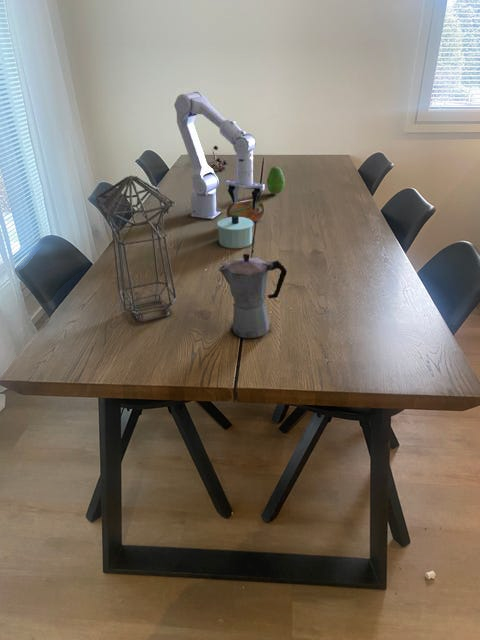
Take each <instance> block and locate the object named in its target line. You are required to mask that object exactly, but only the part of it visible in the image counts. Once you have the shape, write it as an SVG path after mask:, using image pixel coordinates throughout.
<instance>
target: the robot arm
mask: <svg viewBox="0 0 480 640" xmlns="http://www.w3.org/2000/svg"><path fill="white" fill-rule="evenodd" d="M173 107H174V109H175V112H176V124H177V127H178V129H179V132H180V135H181V138H182V140H183V144H184V148H185V149H186V152H187V155H188V158H189V161H190V163H191V166H192V169H193V171H192V175H191V179H192V188H193V192H192V193H191V196H190V208H191V210H190V211H191V214H190V217H194V218H199V219H200V218H201V219H207V220H214V219H215V218H217V216H219V215H220V214H221V211H219V210H218V211H217V196H216V194H217V188H218V187H219V184H220V181H219V178H218V176H217V175H216V173H215V171H214V170H213V169H212V168H211V167H212V166H209V165H208V163H207V160H206V157H205V154H204V150H203V148H202V145H201V142H200V140H199V137H198V134H197V131H196V128H195V125H194V122H195V119H196V117H197V116H198V115H202V116H204V117H205V118H206V119H207V120H208V121H210V122H211V123H212V124H213V125H215V126H216V127H217V128H218V129H219V134H220V135H221V136H222V137H223V138H225V139H226V140H227V141H228V142H229V143H230V144H231V145H232V147H233V150H234V151H235V154H236V180H226V182H225V187H226V188H228V189H227V192H228V194H229V197H230V198H231V202H232V203H234V202H239V198H238V196H239V189H246V190H252V191H251V198H252V199H253V210H255V209H256V208H257V203H258V200H259V201H260V196H261V194H262V193H263V192H264V191H265V184H264V183H260V182H259V183H258V182H254V150H255V148H256V145H257V141H256V139H255V137H254V135H253V134H251V133H246V131H245V130H242V128H240V127H239V126H238V125H237V122H236V121H235V120H231V119H225V117H223V116H222V114H220V113H219V112H218V111H217V110H216V109H215V108H214V107H213V106H212V104H210V102H209V101H208V99H207V97H206V96H204V95H203V94H202V93H201V92H199V91H192V92H189V93H181V94H179V95H178V96H177V97H176V99H175V102H174V104H173Z"/></svg>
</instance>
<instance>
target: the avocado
mask: <svg viewBox="0 0 480 640" xmlns="http://www.w3.org/2000/svg"><path fill="white" fill-rule="evenodd" d="M285 184H286V180H285V175H284V174H283V171H282V169H281V168H280V167H279V166H276V165H275V166H273V167H272V168H270V171H269V172H268V176H267V179H266V187H267V190H268V192H269V193H270V194H273V195H277V194H280V193H281V192H282V191H283V190H284V187H285Z"/></svg>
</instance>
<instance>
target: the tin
mask: <svg viewBox="0 0 480 640" xmlns="http://www.w3.org/2000/svg"><path fill="white" fill-rule="evenodd" d="M264 212H265V207H264V204H263V202H261V200H260V199H259V200H258V203H257V208H256V209H255V210H253V198H251V199H245V200H241V201H239V200H238V202H234V203H233V202H232V203H230V204H229V205H228V207H227V208H226V218H228V217H232V216H234V215H236V216H239V217H244V218H248V219H250V220H252V221H253V223H255V222H258V221H259V220H260V219H262V217H263V215H264Z"/></svg>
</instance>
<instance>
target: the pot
mask: <svg viewBox="0 0 480 640" xmlns="http://www.w3.org/2000/svg"><path fill="white" fill-rule="evenodd" d="M252 243H253V226H252V227H251V228H249V229H246V230H240V231H229V230H224V229H221V228H219V227H218V244H219V245H220V246H222V247H223V248H227V249H243V248H247V247H249V246H250V245H252Z"/></svg>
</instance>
